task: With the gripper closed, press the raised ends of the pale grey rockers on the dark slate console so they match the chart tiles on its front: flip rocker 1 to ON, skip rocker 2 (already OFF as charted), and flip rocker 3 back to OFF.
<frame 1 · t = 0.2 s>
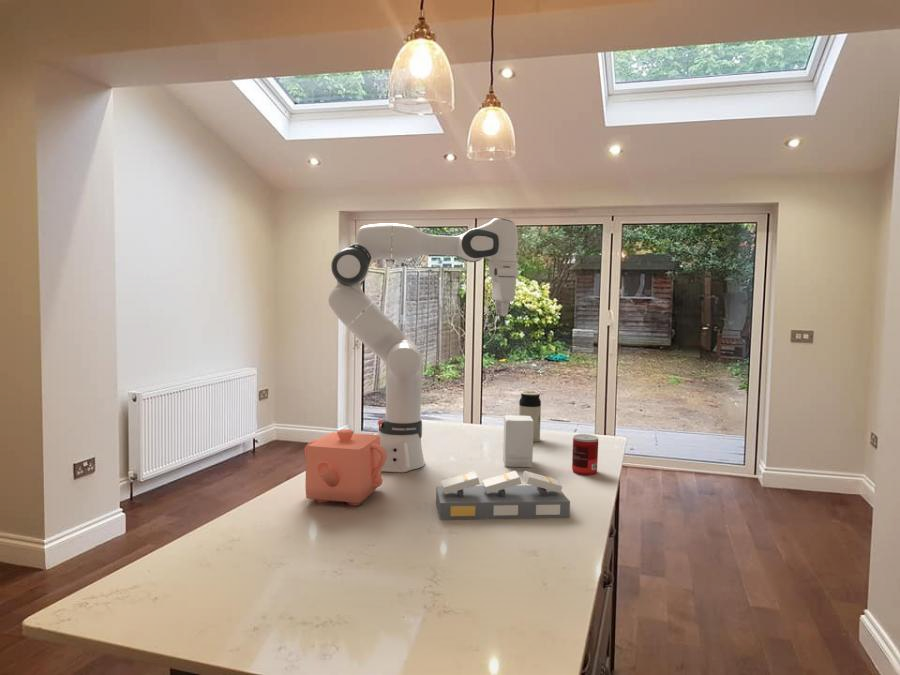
hand: (501, 315, 199), 48 cm above the kitchen island, fingers open, 8 cm apart
console: (500, 509, 160), on the kitchen island
rocker 3: (542, 481, 161), point 7 cm above the kitchen island, hinge at 16.0°
rocker 2: (501, 481, 160), point 7 cm above the kitchen island, hinge at -16.0°
teapot: (339, 501, 164), on the kitchen island
supplement box: (517, 464, 203), on the kitchen island
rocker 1: (460, 482, 159), point 7 cm above the kitchen island, hinge at -16.0°
canned food: (584, 472, 195), on the kitchen island
travel mug: (529, 440, 236), on the kitchen island
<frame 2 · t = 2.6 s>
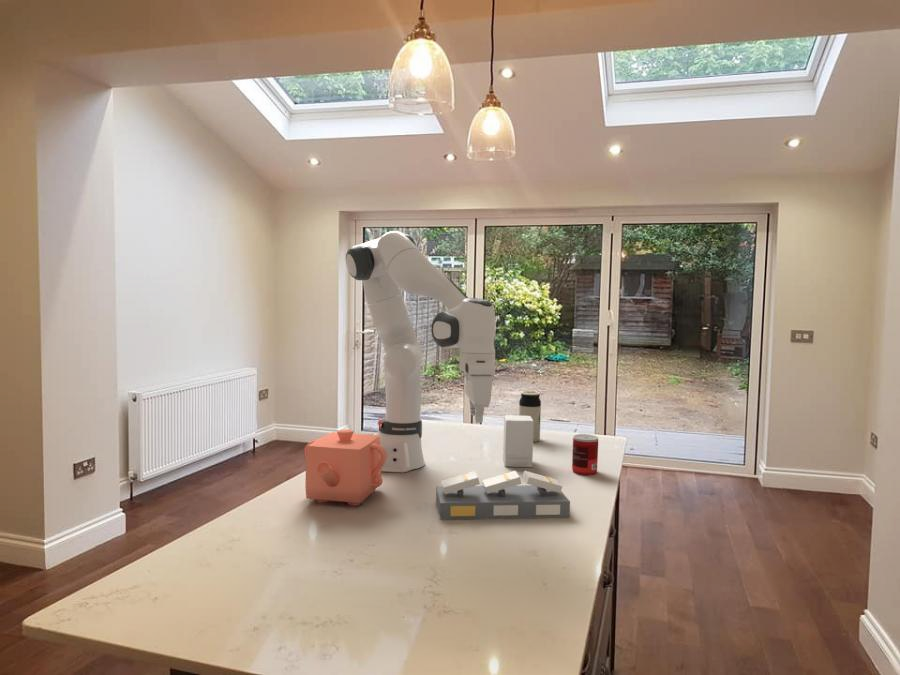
hand: (476, 418, 158), 23 cm above the kitchen island, fingers open, 7 cm apart
nothing on the kitchen island moved.
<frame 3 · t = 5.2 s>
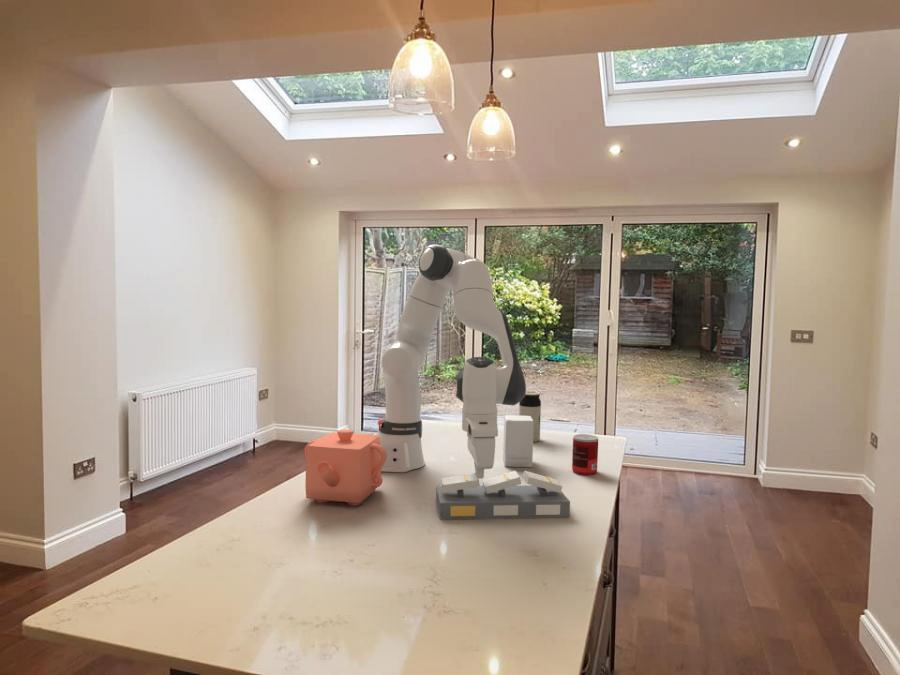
hand: (479, 476, 159), 8 cm above the kitchen island, fingers closed, pressing on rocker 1
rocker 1: (460, 482, 159), point 7 cm above the kitchen island, hinge at -7.8°, touching gripper
everything else where it was.
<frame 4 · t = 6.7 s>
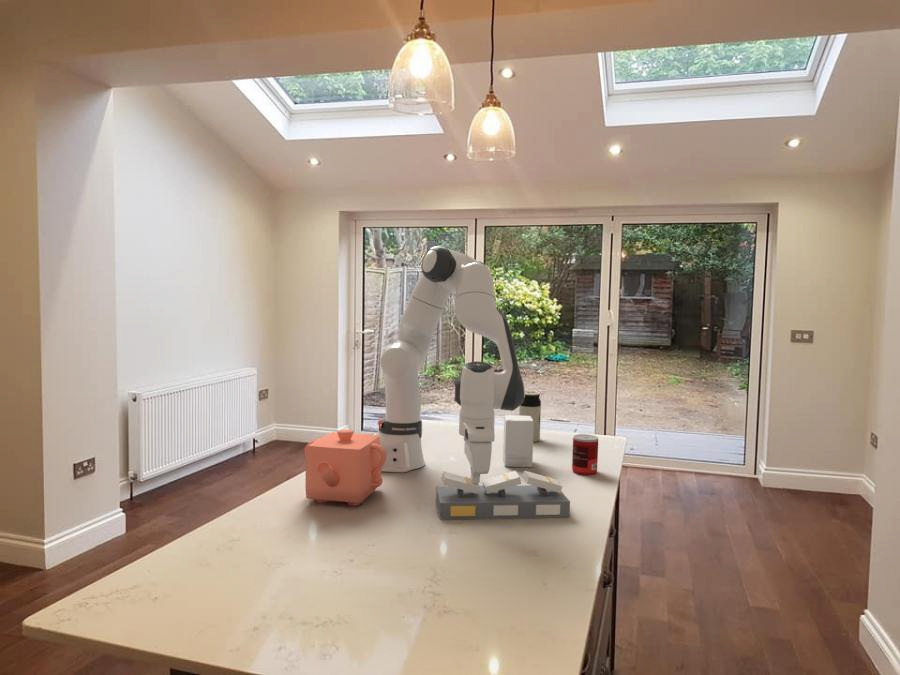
hand: (475, 481, 159), 7 cm above the kitchen island, fingers closed
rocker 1: (460, 482, 159), point 7 cm above the kitchen island, hinge at 15.4°
everything else where it was.
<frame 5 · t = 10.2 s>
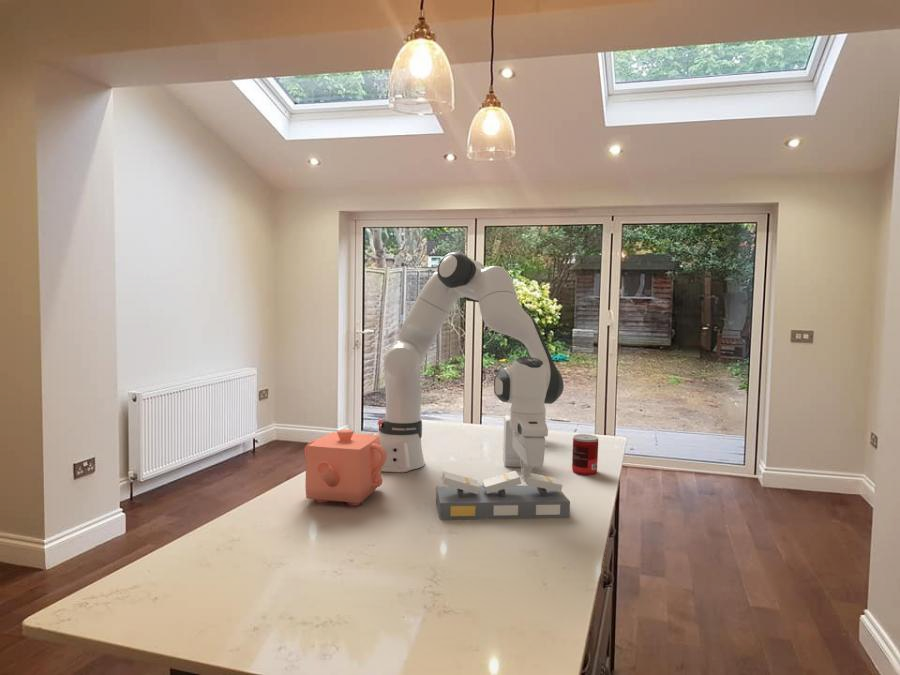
hand: (525, 475, 160), 9 cm above the kitchen island, fingers closed, pressing on rocker 3
rocker 3: (542, 481, 161), point 7 cm above the kitchen island, hinge at 12.3°, touching gripper
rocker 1: (460, 482, 159), point 7 cm above the kitchen island, hinge at 16.4°
everything else where it was.
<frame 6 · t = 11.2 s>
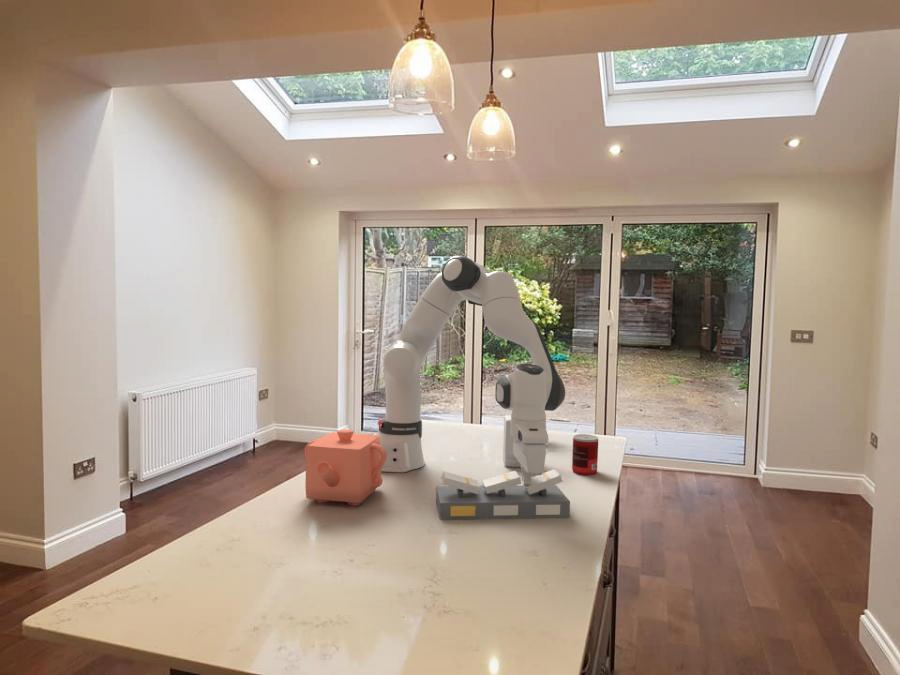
hand: (526, 482, 160), 7 cm above the kitchen island, fingers closed
rocker 3: (541, 481, 161), point 7 cm above the kitchen island, hinge at -21.3°, touching gripper
everything else where it was.
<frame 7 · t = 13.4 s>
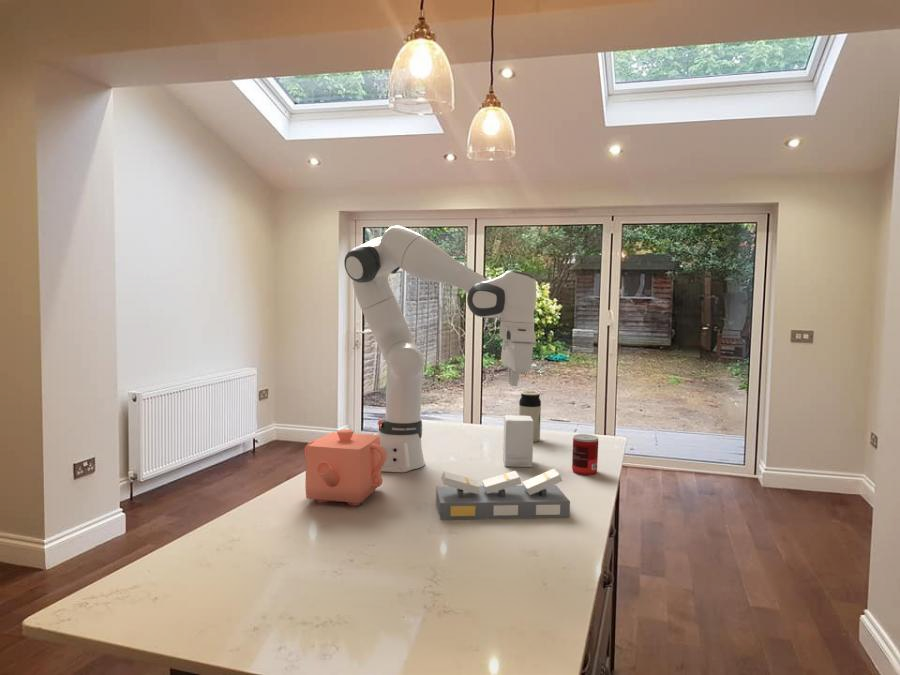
hand: (512, 385, 166), 31 cm above the kitchen island, fingers closed
rocker 3: (541, 481, 161), point 7 cm above the kitchen island, hinge at -23.2°
everything else where it was.
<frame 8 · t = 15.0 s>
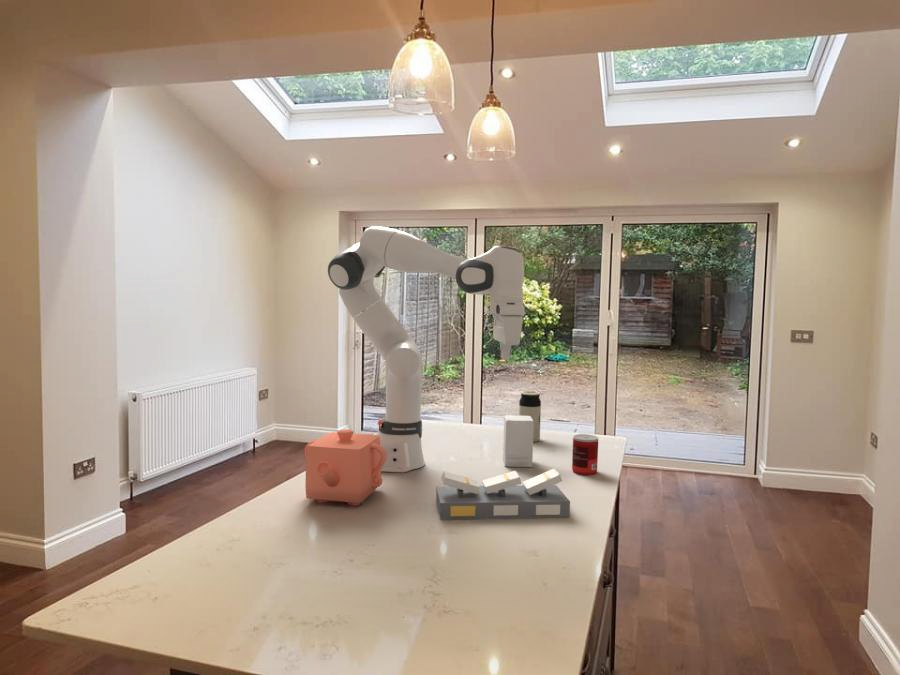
hand: (505, 359, 168), 37 cm above the kitchen island, fingers closed
nothing on the kitchen island moved.
at the end: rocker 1 at +16° (first picture: -16°); rocker 2 at -16° (first picture: -16°); rocker 3 at -23° (first picture: +16°) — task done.
